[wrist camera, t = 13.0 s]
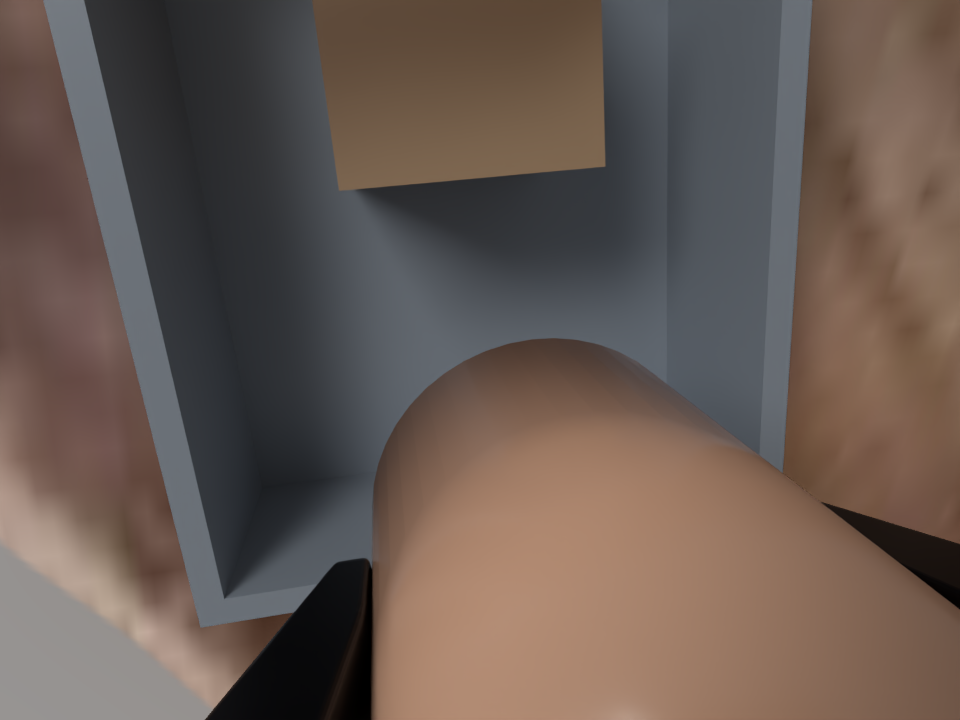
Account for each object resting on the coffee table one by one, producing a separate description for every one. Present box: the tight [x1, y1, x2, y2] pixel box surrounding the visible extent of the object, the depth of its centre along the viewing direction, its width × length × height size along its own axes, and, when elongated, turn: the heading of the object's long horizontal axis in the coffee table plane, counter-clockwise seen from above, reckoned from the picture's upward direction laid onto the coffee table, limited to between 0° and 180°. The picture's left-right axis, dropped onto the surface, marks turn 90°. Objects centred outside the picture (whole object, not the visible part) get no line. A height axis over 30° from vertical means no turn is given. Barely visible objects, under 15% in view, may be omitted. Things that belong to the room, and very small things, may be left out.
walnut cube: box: [312, 0, 605, 191], centre depth 14 cm, size 5×5×5 cm
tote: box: [43, 0, 812, 627], centre depth 15 cm, size 13×17×6 cm
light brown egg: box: [370, 338, 960, 720], centre depth 7 cm, size 5×5×7 cm
